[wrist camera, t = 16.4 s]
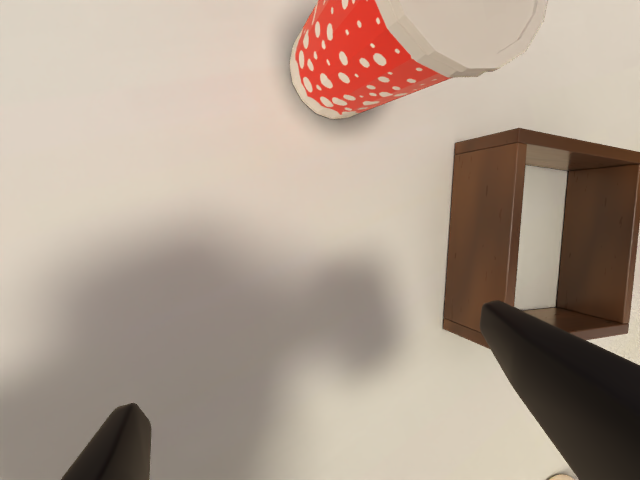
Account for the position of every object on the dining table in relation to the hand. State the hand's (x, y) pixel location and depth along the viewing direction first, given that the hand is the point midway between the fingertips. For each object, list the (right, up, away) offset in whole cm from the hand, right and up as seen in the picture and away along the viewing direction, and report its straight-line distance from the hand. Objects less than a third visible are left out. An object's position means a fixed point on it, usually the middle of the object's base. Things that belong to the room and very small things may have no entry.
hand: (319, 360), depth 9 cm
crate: (+13, +3, +15) cm, 20 cm away
